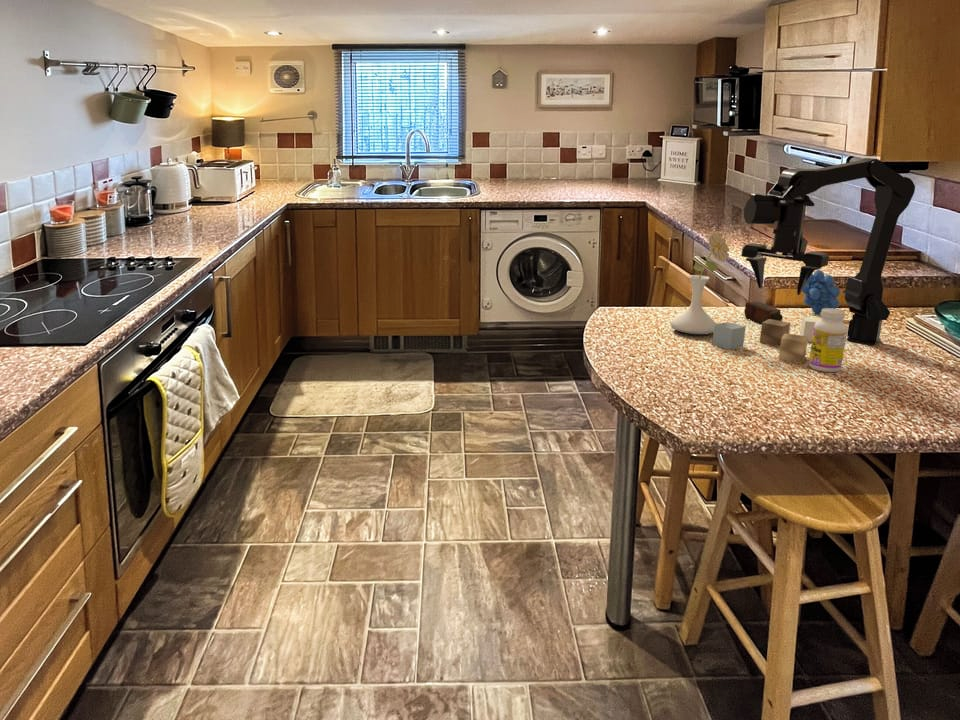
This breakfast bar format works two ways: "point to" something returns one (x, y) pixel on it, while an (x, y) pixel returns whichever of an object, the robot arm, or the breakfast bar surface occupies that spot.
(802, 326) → the cream cube
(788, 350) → the oak cube
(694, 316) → the flower in vase
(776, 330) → the walnut cube
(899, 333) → the breakfast bar surface
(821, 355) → the supplement bottle
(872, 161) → the robot arm
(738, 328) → the slate blue cube
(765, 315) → the brick
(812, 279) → the grapes
